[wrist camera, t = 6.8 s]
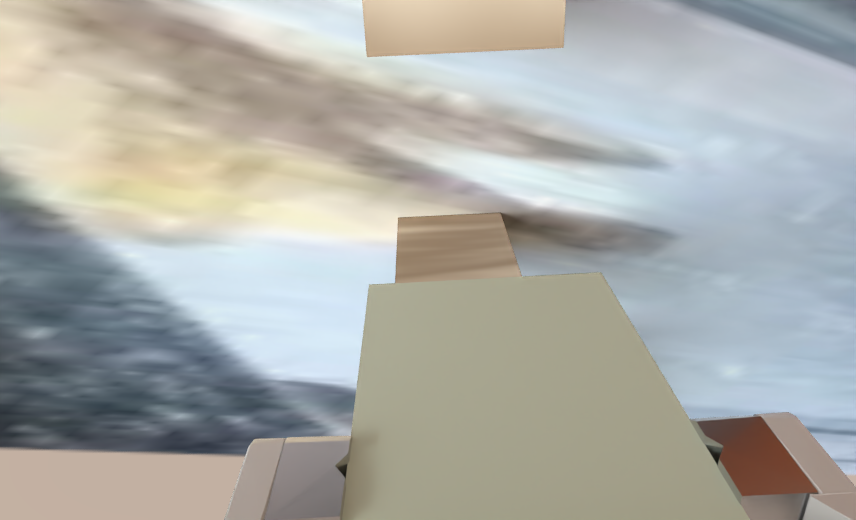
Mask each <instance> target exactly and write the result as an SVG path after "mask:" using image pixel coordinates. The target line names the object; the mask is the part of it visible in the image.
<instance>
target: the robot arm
mask: <svg viewBox="0 0 856 520" xmlns="http://www.w3.org/2000/svg"><path fill="white" fill-rule="evenodd" d="M689 420H690V422H691V423H692V425H693V427H694V428H695V430H696V432H697V433H698V435H699V437H700V439H701V440H702V442H703V444H705V446H706V447H707V449H708V451H709V452H710V454H711V455H712V457H713V459H714V460H715V462H716V464H717V465H718V469H719V470H720V472H721V474H722V475H723V477H724V479H725V480H726V482H727V484H728V485H729V487H730V489H731V490H732V492H733V494H734V495H735V497H736V499H737V500H738V502H739V504H740V505H742V507H743V509H744V510H745V512H746V513H747V515H748V517H749V518H750V520H856V487H855V486H854V484H853V483H852V482H851V481H850V480H849V479H848V477H847V476H846V475H845V474H844V473H843V471H842V470H841V469H840V468H839V467H838V465H837V464H836V463H835V462H834V461H833V460H832V458H831V457H830V456H829V455H828V454H827V452H826V451H825V450H824V449H823V448H822V446H821V445H820V444H819V443H818V442H817V440H816V439H815V438H814V437H813V436H812V435H811V433H810V432H809V431H808V430H807V429H806V427H805V426H804V425H803V424H802V423H801V421H800V420H799V419H798V418H797V417H796V416H794V415H793V414H791V413H789V412H782V413H768V414H755V415H753V416H752V415H747V416H729V417H712V418H695V419H689ZM351 444H352V436H324V437H288V438H273V439H254V440H253V442H252V443H251V444H250V445H249V447H248V450H247V453H246V456H245V459H244V462H243V465H242V468H241V471H240V474H239V477H238V480H237V483H236V486H235V489H234V492H233V495H232V498H231V501H230V504H229V507H228V510H227V513H226V516H225V519H224V520H342V515H343V508H344V500H345V493H346V473H347V464H348V463H349V461H350V452H351Z"/></svg>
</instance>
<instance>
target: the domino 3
mask: <svg viewBox="0 0 856 520" xmlns="http://www.w3.org/2000/svg"><path fill="white" fill-rule="evenodd" d="M351 436H352V444H351V452H350V461H349V463H348V464H347V473H346V493H345V500H344V508H343V515H342V520H750V518H749V517H748V515H747V513H746V512H745V510H744V509H743V507H742V505H740V504H739V502H738V500H737V499H736V497H735V495H734V494H733V492H732V490H731V489H730V487H729V485H728V484H727V482H726V480H725V479H724V477H723V475H722V474H721V472H720V470H719V469H718V465H717V464H716V462H715V460H714V459H713V457H712V455H711V454H710V452H709V451H708V449H707V447H706V446H705V444H703V442H702V440H701V439H700V437H699V435H698V433H697V432H696V430H695V428H694V427H693V425H692V423H691V422H690V420H689V417H688V416H687V414H686V412H685V411H684V409H683V407H682V406H681V404H680V402H679V401H678V399H677V398H676V396H675V394H674V393H673V391H672V389H671V388H670V386H669V384H668V383H667V381H666V379H665V378H664V376H663V374H662V373H661V371H660V369H659V368H658V366H657V364H656V363H655V361H654V359H653V358H652V356H651V354H650V353H649V351H648V349H647V348H646V346H645V345H644V343H643V341H642V340H641V338H640V336H639V335H638V333H637V331H636V330H635V328H634V326H633V325H632V323H631V321H630V320H629V318H628V316H627V315H626V313H625V311H624V310H623V308H622V306H621V305H620V303H619V301H618V300H617V298H616V296H615V295H614V293H613V291H612V290H611V288H610V287H609V285H608V283H607V282H606V280H605V278H604V277H603V275H602V273H601V272H598V273H579V274H560V275H541V276H523V277H504V278H485V279H466V280H447V281H429V282H410V283H391V284H372V285H369V290H368V298H367V307H366V315H365V323H364V331H363V340H362V348H361V356H360V365H359V373H358V381H357V390H356V398H355V406H354V415H353V423H352V431H351Z"/></svg>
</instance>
